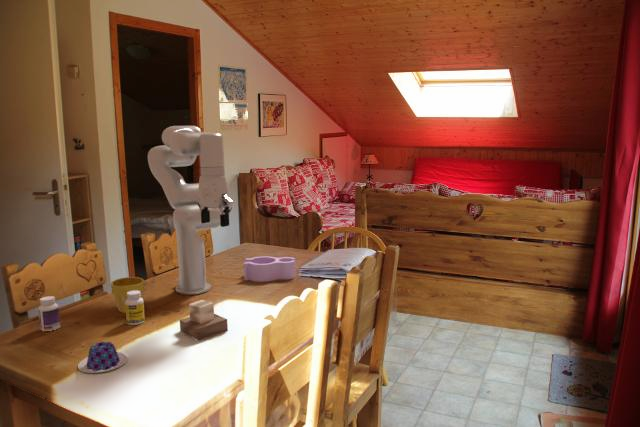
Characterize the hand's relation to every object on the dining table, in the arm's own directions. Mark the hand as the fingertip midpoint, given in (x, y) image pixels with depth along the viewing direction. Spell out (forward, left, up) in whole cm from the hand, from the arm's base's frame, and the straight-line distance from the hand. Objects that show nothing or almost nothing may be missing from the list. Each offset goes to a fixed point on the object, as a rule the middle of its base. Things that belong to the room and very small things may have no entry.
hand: (215, 224), depth 173 cm
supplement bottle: (-10, -25, -28) cm, 39 cm away
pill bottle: (-26, -44, -28) cm, 59 cm away
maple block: (+12, -16, -25) cm, 32 cm away
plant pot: (-22, -20, -28) cm, 41 cm away
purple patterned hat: (+9, -46, -29) cm, 55 cm away
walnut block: (+13, -16, -29) cm, 35 cm away
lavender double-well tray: (-11, +35, -29) cm, 47 cm away
